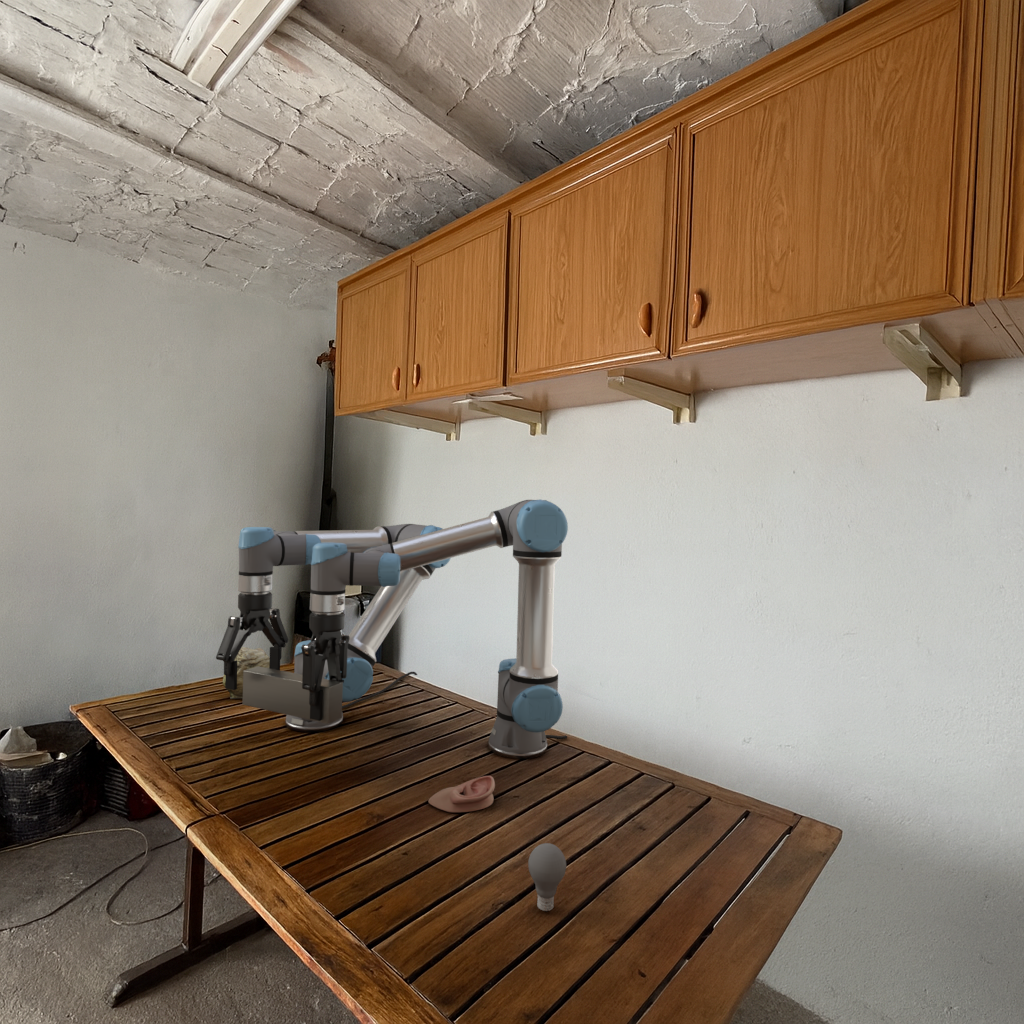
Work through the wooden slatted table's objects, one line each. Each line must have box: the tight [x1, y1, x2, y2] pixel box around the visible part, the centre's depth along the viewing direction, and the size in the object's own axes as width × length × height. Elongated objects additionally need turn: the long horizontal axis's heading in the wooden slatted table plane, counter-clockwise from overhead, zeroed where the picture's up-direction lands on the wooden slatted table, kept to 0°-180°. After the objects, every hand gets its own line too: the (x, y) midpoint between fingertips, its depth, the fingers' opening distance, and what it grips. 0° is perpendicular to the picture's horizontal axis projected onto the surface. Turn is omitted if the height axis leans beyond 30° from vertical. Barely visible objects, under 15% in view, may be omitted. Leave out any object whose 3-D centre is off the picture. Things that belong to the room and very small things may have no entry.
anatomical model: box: [427, 775, 496, 813], centre depth 134 cm, size 13×4×12 cm
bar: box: [241, 666, 343, 724], centre depth 146 cm, size 25×5×8 cm, turn 66°
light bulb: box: [527, 842, 567, 912], centre depth 100 cm, size 6×6×10 cm
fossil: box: [222, 646, 270, 699], centre depth 198 cm, size 9×18×15 cm, turn 132°
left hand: (253, 681), depth 151 cm, fingers open, 13 cm apart
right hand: (323, 715), depth 142 cm, fingers closed on bar, 5 cm apart
